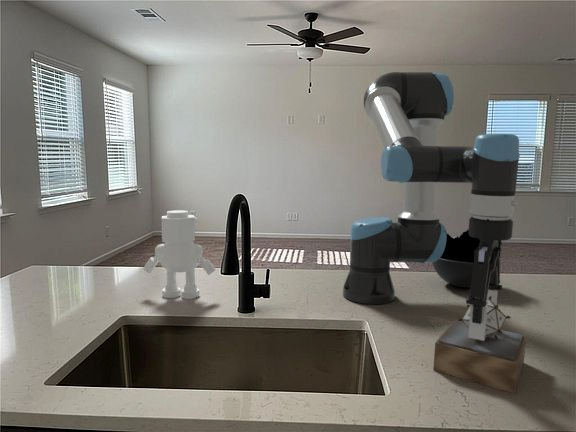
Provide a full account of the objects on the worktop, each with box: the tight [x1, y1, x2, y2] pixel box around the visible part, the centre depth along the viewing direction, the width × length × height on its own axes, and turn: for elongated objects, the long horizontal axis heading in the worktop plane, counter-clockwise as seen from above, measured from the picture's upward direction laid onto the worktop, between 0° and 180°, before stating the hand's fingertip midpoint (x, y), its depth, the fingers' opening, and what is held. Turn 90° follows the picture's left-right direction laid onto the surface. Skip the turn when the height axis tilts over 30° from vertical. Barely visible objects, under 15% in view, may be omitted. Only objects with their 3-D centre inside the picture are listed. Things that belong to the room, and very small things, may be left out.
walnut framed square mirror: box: [433, 319, 527, 394], centre depth 84 cm, size 14×14×6 cm
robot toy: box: [143, 209, 216, 300], centre depth 124 cm, size 22×12×25 cm, turn 84°
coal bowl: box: [431, 228, 480, 288], centre depth 137 cm, size 20×20×19 cm
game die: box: [457, 296, 512, 342], centre depth 83 cm, size 9×8×10 cm
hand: (482, 328), depth 83 cm, fingers open, 10 cm apart
